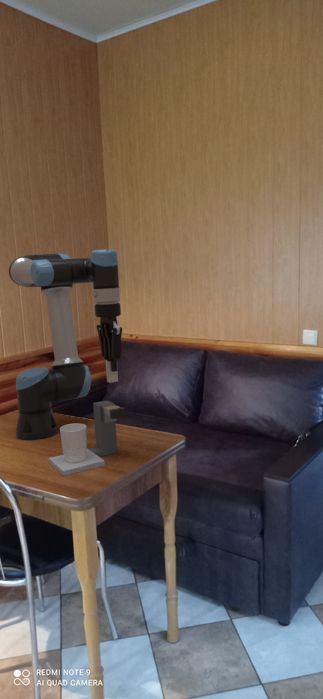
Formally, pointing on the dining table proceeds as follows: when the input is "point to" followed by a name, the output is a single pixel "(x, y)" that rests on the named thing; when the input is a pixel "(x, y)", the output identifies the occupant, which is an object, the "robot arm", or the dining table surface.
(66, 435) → the white cup
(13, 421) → the dining table surface
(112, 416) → the handle
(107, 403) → the frame
